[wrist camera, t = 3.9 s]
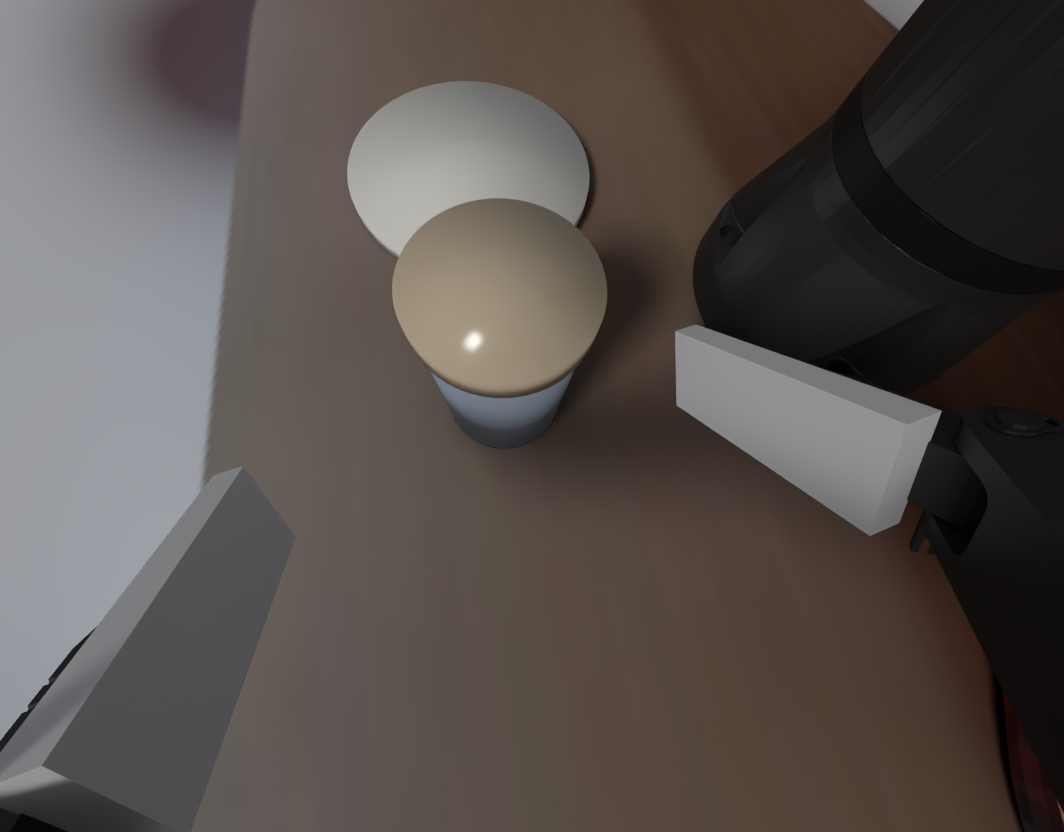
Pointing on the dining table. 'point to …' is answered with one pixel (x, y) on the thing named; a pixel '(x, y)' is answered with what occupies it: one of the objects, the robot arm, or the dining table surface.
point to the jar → (500, 312)
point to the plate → (462, 158)
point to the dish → (1030, 781)
